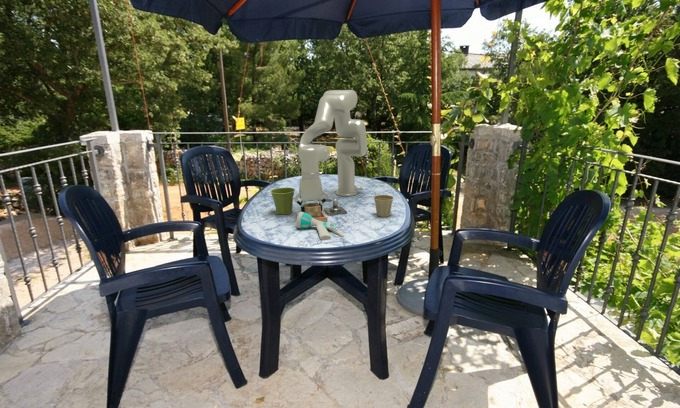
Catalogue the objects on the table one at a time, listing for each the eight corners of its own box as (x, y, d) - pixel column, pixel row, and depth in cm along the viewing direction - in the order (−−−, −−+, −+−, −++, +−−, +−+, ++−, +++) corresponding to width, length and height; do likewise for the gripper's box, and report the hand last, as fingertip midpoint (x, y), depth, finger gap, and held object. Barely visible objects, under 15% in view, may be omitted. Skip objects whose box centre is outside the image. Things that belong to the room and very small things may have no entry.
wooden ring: (317, 210, 163) (317, 202, 162) (321, 215, 157) (320, 206, 156) (303, 212, 161) (302, 203, 160) (305, 216, 155) (305, 208, 154)
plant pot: (286, 207, 178) (285, 186, 175) (301, 212, 170) (300, 190, 167) (267, 212, 170) (265, 190, 167) (281, 218, 162) (279, 194, 159)
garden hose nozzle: (345, 229, 137) (334, 209, 154) (301, 230, 132) (294, 209, 150) (343, 245, 139) (332, 223, 157) (300, 246, 135) (293, 224, 152)
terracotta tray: (321, 214, 167) (321, 209, 166) (327, 221, 156) (327, 217, 155) (297, 216, 164) (297, 212, 163) (301, 224, 153) (301, 220, 152)
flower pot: (380, 219, 158) (380, 201, 155) (369, 214, 166) (369, 196, 163) (397, 216, 162) (397, 198, 159) (385, 210, 170) (386, 193, 167)
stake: (341, 208, 175) (341, 195, 173) (347, 213, 167) (346, 200, 165) (324, 210, 173) (323, 197, 171) (328, 215, 164) (328, 202, 162)
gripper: (327, 172, 160) (328, 209, 165) (289, 175, 155) (291, 213, 160) (331, 175, 153) (332, 214, 158) (291, 178, 148) (294, 218, 153)
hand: (311, 213), depth 159 cm, fingers closed on wooden ring, 7 cm apart
